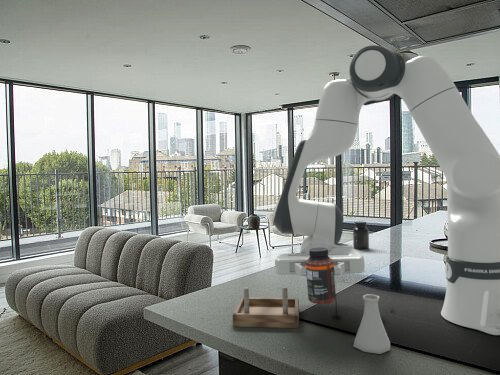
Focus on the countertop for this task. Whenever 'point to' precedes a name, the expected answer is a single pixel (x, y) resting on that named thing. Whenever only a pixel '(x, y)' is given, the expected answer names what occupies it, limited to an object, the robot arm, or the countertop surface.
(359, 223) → the supplement bottle
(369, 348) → the flask
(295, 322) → the tray
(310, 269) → the supplement bottle
